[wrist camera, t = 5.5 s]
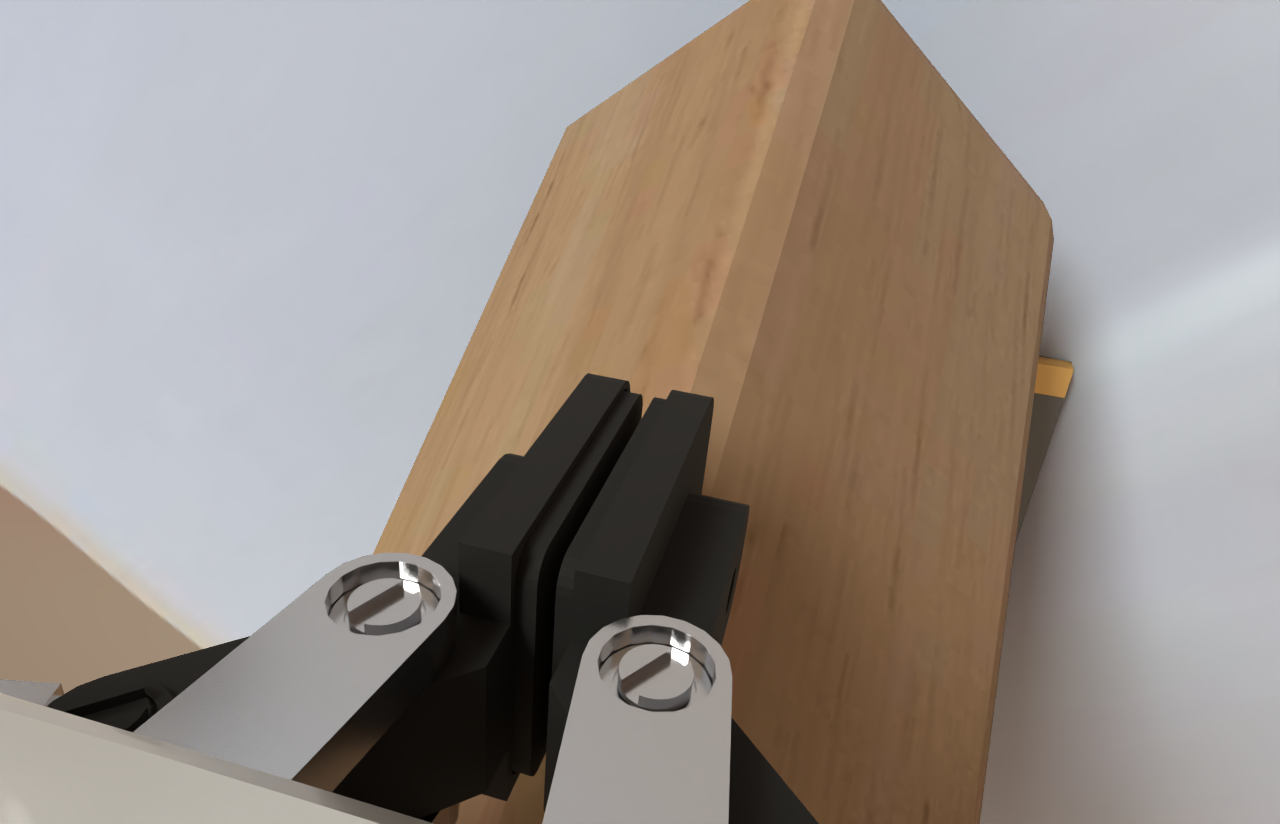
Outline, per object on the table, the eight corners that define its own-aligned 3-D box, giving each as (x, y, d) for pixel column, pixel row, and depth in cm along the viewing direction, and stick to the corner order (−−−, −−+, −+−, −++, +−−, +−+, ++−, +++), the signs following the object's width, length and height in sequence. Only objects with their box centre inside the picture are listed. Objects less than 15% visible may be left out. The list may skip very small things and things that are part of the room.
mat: (1070, 361, 28) (1073, 369, 28) (951, 719, 36) (951, 732, 35) (541, 273, 32) (534, 278, 32) (533, 615, 40) (528, 624, 39)
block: (1074, 213, 23) (964, 1153, 14) (780, 307, 30) (596, 960, 22) (840, -87, 18) (463, 1082, 10) (558, 115, 25) (210, 865, 17)
